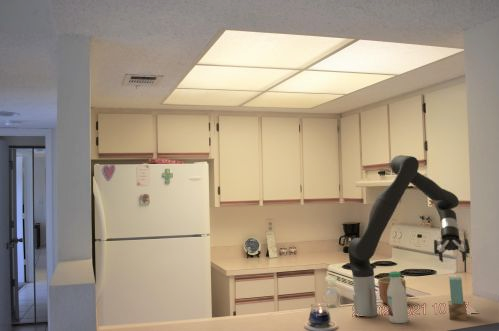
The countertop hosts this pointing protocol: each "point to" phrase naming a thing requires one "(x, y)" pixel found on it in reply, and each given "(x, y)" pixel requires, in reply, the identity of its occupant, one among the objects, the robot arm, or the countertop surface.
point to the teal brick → (456, 290)
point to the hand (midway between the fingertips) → (452, 260)
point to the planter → (386, 287)
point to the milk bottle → (397, 299)
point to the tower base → (458, 316)
